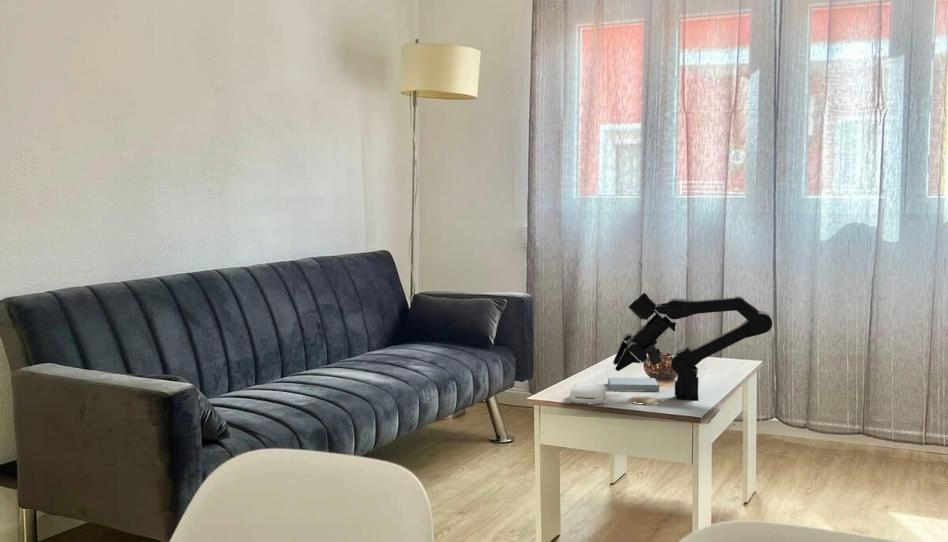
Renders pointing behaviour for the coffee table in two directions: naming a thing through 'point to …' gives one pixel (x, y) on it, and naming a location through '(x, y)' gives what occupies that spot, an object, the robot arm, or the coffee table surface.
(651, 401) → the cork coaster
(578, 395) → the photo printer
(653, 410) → the coffee table surface
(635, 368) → the coffee table surface
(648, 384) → the pale blue flat block
